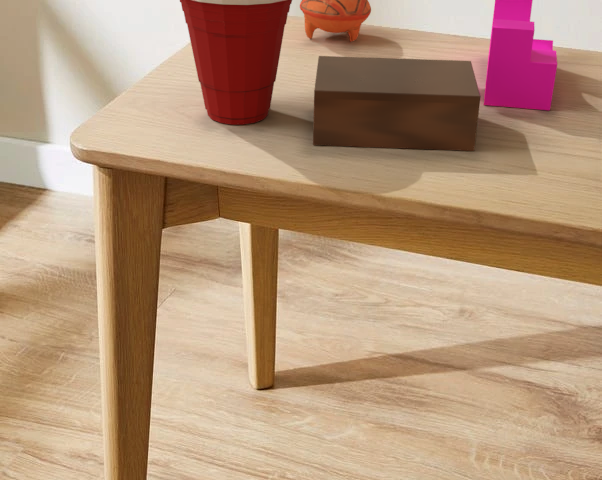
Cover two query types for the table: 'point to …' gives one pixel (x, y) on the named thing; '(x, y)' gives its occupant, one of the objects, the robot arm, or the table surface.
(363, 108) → the block
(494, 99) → the toy block
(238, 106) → the plastic cup
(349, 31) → the pot
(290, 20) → the table surface
